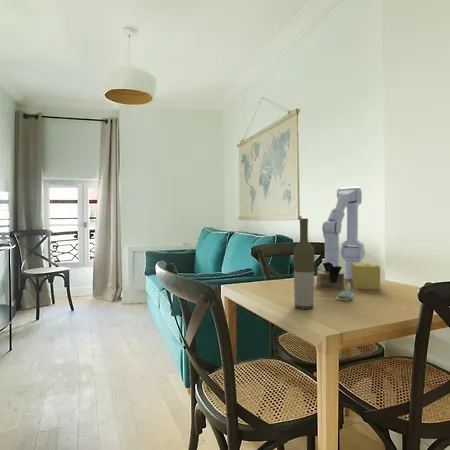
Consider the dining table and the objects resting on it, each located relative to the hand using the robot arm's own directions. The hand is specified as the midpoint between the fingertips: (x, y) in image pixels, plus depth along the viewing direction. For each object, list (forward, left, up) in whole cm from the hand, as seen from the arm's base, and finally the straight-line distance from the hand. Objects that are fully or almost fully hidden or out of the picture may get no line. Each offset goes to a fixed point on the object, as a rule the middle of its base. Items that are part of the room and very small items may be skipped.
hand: (331, 280), depth 148 cm
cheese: (0, +14, -3) cm, 15 cm away
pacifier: (+20, 0, -3) cm, 20 cm away
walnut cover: (0, -1, -2) cm, 2 cm away
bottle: (+33, -17, -3) cm, 37 cm away
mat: (0, 0, -3) cm, 3 cm away
